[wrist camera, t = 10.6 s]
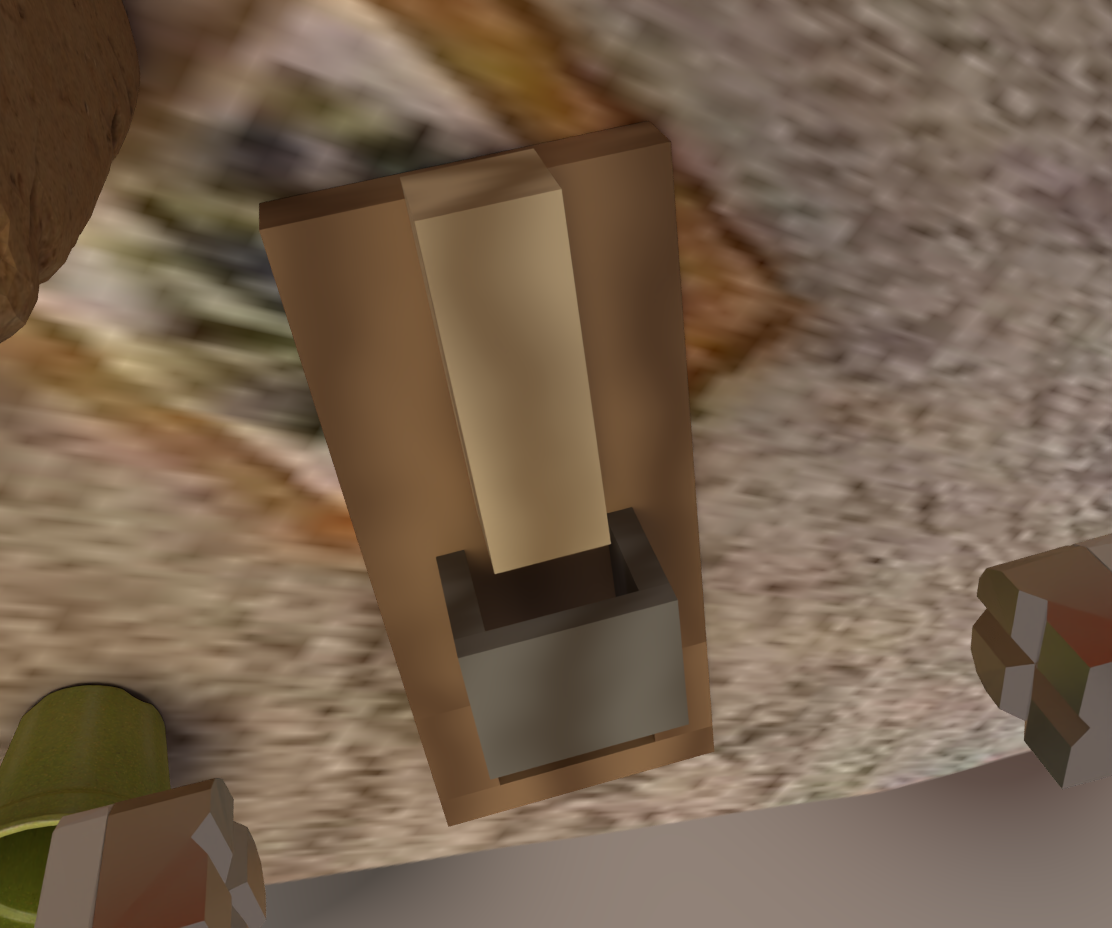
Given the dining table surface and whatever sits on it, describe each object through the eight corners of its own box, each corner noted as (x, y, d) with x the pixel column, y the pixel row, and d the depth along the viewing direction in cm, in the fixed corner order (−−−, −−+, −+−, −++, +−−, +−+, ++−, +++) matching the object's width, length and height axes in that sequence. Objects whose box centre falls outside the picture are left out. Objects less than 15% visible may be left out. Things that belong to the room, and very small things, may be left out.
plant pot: (215, 785, 51) (208, 950, 44) (4, 815, 49) (-39, 992, 42) (189, 642, 46) (177, 803, 39) (-48, 668, 44) (-106, 843, 37)
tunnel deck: (648, 120, 38) (735, 203, 31) (697, 715, 56) (758, 849, 50) (259, 203, 36) (259, 309, 29) (441, 786, 55) (467, 935, 48)
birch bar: (533, 148, 35) (561, 189, 32) (584, 484, 43) (611, 544, 40) (399, 177, 34) (414, 221, 31) (476, 511, 43) (494, 574, 39)
